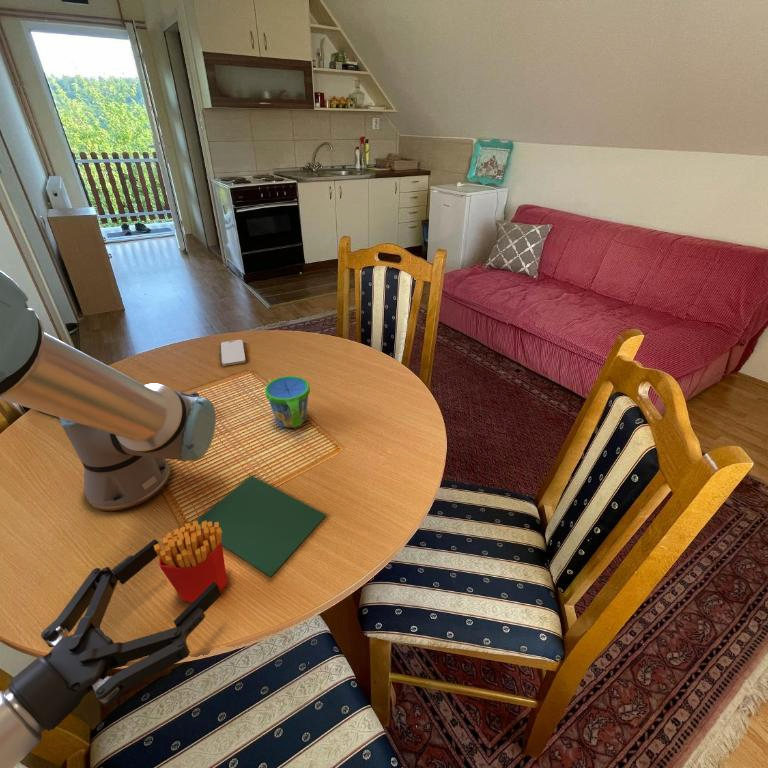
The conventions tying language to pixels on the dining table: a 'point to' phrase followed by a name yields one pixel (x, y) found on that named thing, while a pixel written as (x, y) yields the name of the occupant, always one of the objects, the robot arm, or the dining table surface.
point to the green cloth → (262, 524)
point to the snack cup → (288, 400)
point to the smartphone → (232, 352)
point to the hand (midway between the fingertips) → (186, 565)
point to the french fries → (193, 559)
